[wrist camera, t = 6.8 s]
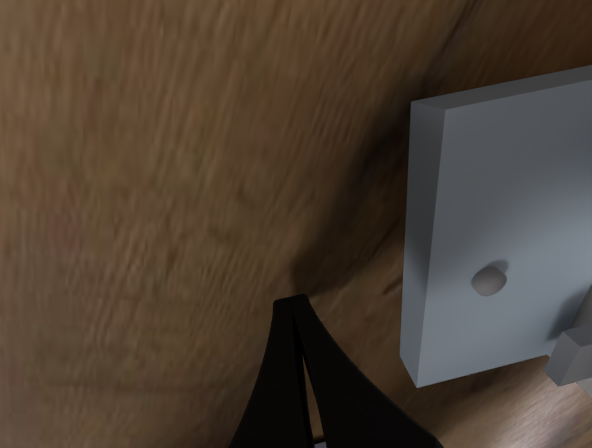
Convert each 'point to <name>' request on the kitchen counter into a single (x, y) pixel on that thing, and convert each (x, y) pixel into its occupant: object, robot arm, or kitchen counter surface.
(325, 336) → the robot arm
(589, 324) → the side panel
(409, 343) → the door
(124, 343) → the kitchen counter surface
